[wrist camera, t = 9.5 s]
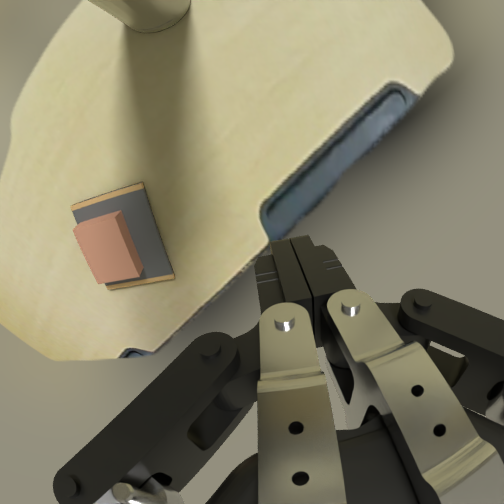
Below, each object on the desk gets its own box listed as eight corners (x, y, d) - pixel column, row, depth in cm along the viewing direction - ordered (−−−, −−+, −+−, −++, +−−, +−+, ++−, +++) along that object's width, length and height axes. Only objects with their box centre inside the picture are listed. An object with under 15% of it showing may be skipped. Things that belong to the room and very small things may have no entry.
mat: (72, 204, 35) (70, 206, 35) (142, 181, 35) (141, 183, 34) (109, 287, 43) (107, 289, 43) (175, 276, 43) (174, 278, 42)
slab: (121, 210, 36) (80, 222, 36) (114, 217, 34) (72, 229, 34) (143, 267, 41) (103, 275, 41) (139, 276, 39) (98, 284, 39)
